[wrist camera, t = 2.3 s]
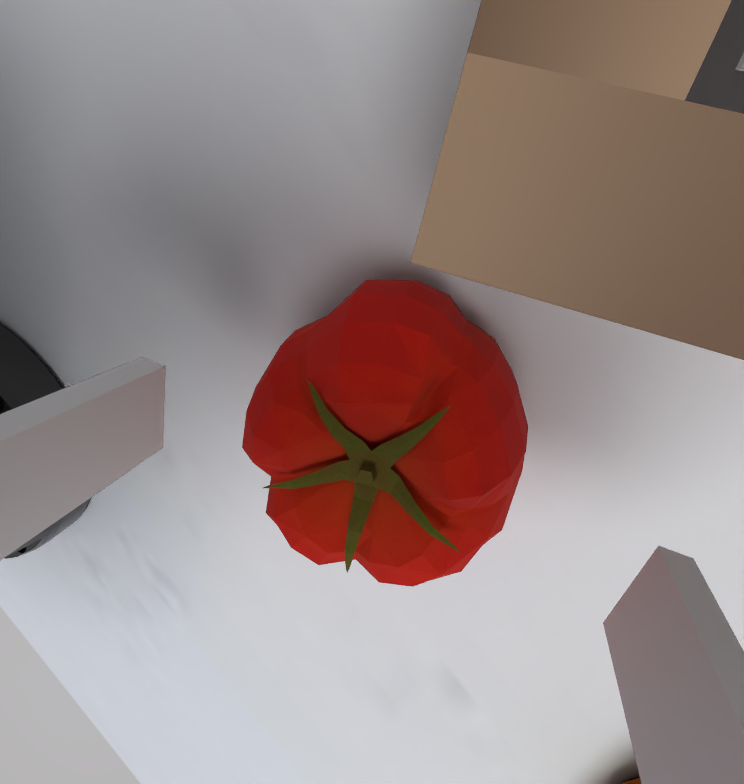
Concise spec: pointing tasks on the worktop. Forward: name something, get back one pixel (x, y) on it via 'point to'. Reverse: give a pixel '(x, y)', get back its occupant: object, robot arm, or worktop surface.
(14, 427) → the robot arm
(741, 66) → the trapdoor
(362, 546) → the tomato
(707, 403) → the worktop surface
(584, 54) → the frame
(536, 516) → the worktop surface
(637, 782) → the cheeseburger
